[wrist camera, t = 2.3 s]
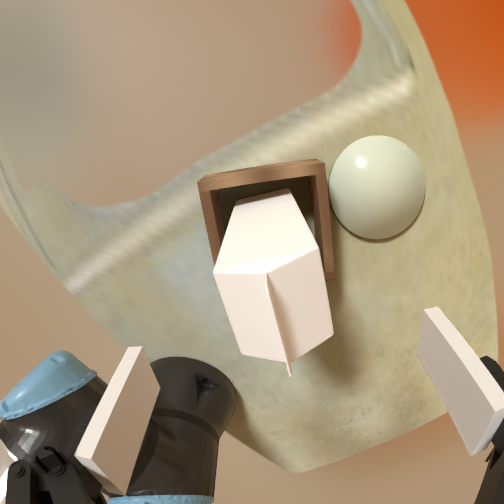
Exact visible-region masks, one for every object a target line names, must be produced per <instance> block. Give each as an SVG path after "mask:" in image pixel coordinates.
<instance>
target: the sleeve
mask: <svg viewBox="0 0 504 504" xmlns="http://www.w3.org/2000/svg"><path fill="white" fill-rule="evenodd" d="M302 176H309V183H310V191H311V200H312V209H313V218H314V227H315V237H316V243H317V245H318V247H319V251H320V256H321V261H322V266H323V272H324V277H325V281H329V280H335V272H334V256H333V243H332V230H331V219H330V208H329V198H328V188H327V179H326V171H325V163H323V162H321V161H319V160H317V159H310V160H302V161H294V162H286V163H279V164H272V165H265V166H258V167H251V168H245V169H239V170H233V171H227V172H221V173H215V174H210V175H205V176H204V177H203V178H202V179H200V180H199V181H198V182H197V184H198V189H199V194H200V199H201V204H202V209H203V214H204V219H205V224H206V228H207V233H208V238H209V243H210V247H211V252H212V257H213V261H214V266H215V264H216V261H217V258H218V255H219V252H220V249H221V245H222V242H223V239H224V236H225V233H226V232H225V226H224V221H223V216H222V211H221V205H220V200H219V195H218V189H222V188H228V187H234V186H240V185H246V184H253V183H259V182H266V181H273V180H280V179H287V178H295V177H302Z"/></svg>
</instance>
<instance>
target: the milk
mask: <svg viewBox="0 0 504 504" xmlns="http://www.w3.org/2000/svg"><path fill="white" fill-rule="evenodd" d="M213 274H214V277H215V280H216V283H217V286H218V289H219V292H220V295H221V298H222V301H223V304H224V307H225V309H226V312H227V315H228V318H229V321H230V324H231V326H232V329H233V332H234V335H235V338H236V340H237V343H238V346H239V349H240V351H241V353H242V354H243V355H247V356H252V357H257V358H263V359H268V360H274V361H279V362H285V363H286V366H287V370H288V373H289V377H290V378H291V377H292V372H291V362H292V361H294V360H296V359H297V358H299V357H300V356H302V355H304V354H305V353H307V352H308V351H310V350H312V349H313V348H315V347H316V346H318V345H319V344H321V343H322V342H324V341H325V340H327V339H328V338H330V337H331V336H333V334H334V331H333V324H332V318H331V312H330V306H329V300H328V294H327V288H326V283H325V277H324V272H323V266H322V261H321V256H320V251H319V247H318V245H317V243H316V241H315V239H314V237H313V235H312V233H311V231H310V229H309V227H308V225H307V223H306V221H305V219H304V217H303V215H302V213H301V211H300V209H299V207H298V205H297V203H296V201H295V199H294V197H293V195H292V194H291V192H290V190H289V188H285V189H281V190H277V191H273V192H269V193H265V194H261V195H257V196H253V197H249V198H245V199H241V200H237V201H236V203H235V206H234V209H233V212H232V215H231V218H230V221H229V224H228V227H227V230H226V233H225V236H224V239H223V242H222V245H221V249H220V252H219V255H218V258H217V261H216V264H215V267H214V271H213Z"/></svg>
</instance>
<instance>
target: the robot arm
mask: <svg viewBox="0 0 504 504" xmlns="http://www.w3.org/2000/svg"><path fill="white" fill-rule="evenodd" d="M417 356H418V358H419V360H420V361H421V363H422V365H423V367H424V368H425V370H426V372H427V374H428V375H429V377H430V379H431V381H432V383H433V384H434V386H435V388H436V390H437V392H438V394H439V395H440V397H441V399H442V401H443V403H444V405H445V407H446V409H447V410H448V412H449V414H450V416H451V418H452V420H453V422H454V424H455V426H456V428H457V430H458V432H459V434H460V436H461V438H462V440H463V442H464V444H465V446H466V448H467V450H468V452H469V455H470V456H472V455H474V454H476V453H479V452H481V451H483V450H485V449H486V448H487V447H488V445H489V443H490V442H491V441H492V443H493V444H494V448H493V449H492V451H491V453H490V454H489V456H488V457H487V459H486V462H488V460H489V459H490V460H489V463H488V466H487V470H486V473H485V476H484V479H483V481H482V484H481V488H480V490H479V493H478V495H477V498H476V501H475V503H474V504H504V372H503V371H502V369H501V367H500V366H499V365H498V364H497V362H496V361H494V360H493V359H491V358H490V357H488V356H484V357H482V358H478V356H477V355H476V354H475V352H474V351H473V350H472V348H471V347H470V346H469V345H468V343H467V342H466V341H465V340H464V338H463V337H462V336H461V335H460V333H459V332H458V331H457V330H456V328H455V327H454V326H453V325H452V323H451V322H450V321H449V320H448V319H447V317H446V316H445V315H444V314H443V313H442V311H441V310H440V309H439V308H438V307H432V308H428V309H424V310H423V318H422V325H421V332H420V339H419V345H418V351H417ZM235 401H236V394H235V390H234V387H233V385H232V383H231V382H230V381H229V379H228V378H227V377H226V376H225V375H224V374H223V373H221V372H220V371H219V370H217V369H216V368H214V367H213V366H211V365H209V364H207V363H204V362H201V361H199V360H195V359H191V358H185V357H168V358H162V359H159V360H156V361H154V362H152V363H151V364H150V363H149V361H148V359H147V356H146V354H145V352H144V349H143V347H128V349H127V351H126V353H125V355H124V356H123V358H122V360H121V362H120V364H119V366H118V368H117V370H116V371H115V373H114V375H113V377H112V379H111V381H110V383H109V385H107V384H106V383H105V382H104V381H103V380H102V379H100V378H99V377H98V376H97V372H95V371H94V370H91V369H89V368H88V367H87V366H86V365H84V364H83V363H82V362H81V361H80V360H78V359H77V358H76V357H75V356H74V355H73V354H71V353H69V352H67V351H63V350H60V351H56V352H53V353H52V354H50V355H49V356H48V357H47V358H46V359H44V360H43V361H42V362H41V363H39V364H38V365H37V366H36V367H35V368H34V369H33V370H32V371H31V372H29V374H27V375H26V376H25V377H24V378H23V379H22V380H21V381H20V382H19V383H18V384H17V385H16V386H15V387H14V388H13V389H12V390H11V391H10V392H9V393H8V394H7V395H6V396H5V397H4V398H3V399H2V400H1V401H0V419H1V420H2V422H1V423H0V504H212V503H213V502H214V489H215V477H216V467H217V457H218V446H219V439H220V437H221V435H222V433H223V432H224V430H225V428H226V427H227V425H228V423H229V421H230V420H231V418H232V416H233V414H234V410H235ZM100 491H101V492H102V493H104V494H106V495H107V496H108V497H109V499H108V500H107V502H106V500H105V498H104V496H103V495H102V493H101V492H100Z"/></svg>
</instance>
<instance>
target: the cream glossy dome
mask: <svg viewBox="0 0 504 504" xmlns="http://www.w3.org/2000/svg"><path fill="white" fill-rule="evenodd" d="M328 191H329V199H330V203H331V206H332V208H333V211H334V213H335V215H336V216H337V218H338V219H339V220H340V222H341V223H342V224H343V225H344V226H345V227H346V228H347V229H348V230H350V231H351V232H353V233H354V234H356V235H358V236H361V237H364V238H368V239H384V238H389V237H392V236H394V235H396V234H398V233H400V232H402V231H403V230H405V229H406V228H407V227H408V226H409V225H410V224H411V223H412V222H413V221H414V219H415V218H416V217H417V215H418V213H419V211H420V209H421V207H422V204H423V201H424V197H425V176H424V171H423V169H422V166H421V164H420V161H419V159H418V158H417V156H416V155H415V154H414V152H413V151H412V150H411V149H410V148H409V147H408V146H407V145H405V144H404V143H402V142H401V141H399V140H397V139H395V138H391V137H388V136H380V135H373V136H367V137H363V138H360V139H358V140H356V141H354V142H353V143H351V144H349V145H348V146H347V147H346V148H345V149H344V150H343V151H342V152H341V153H340V154H339V156H338V157H337V159H336V160H335V162H334V164H333V167H332V169H331V172H330V177H329V184H328Z"/></svg>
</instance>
